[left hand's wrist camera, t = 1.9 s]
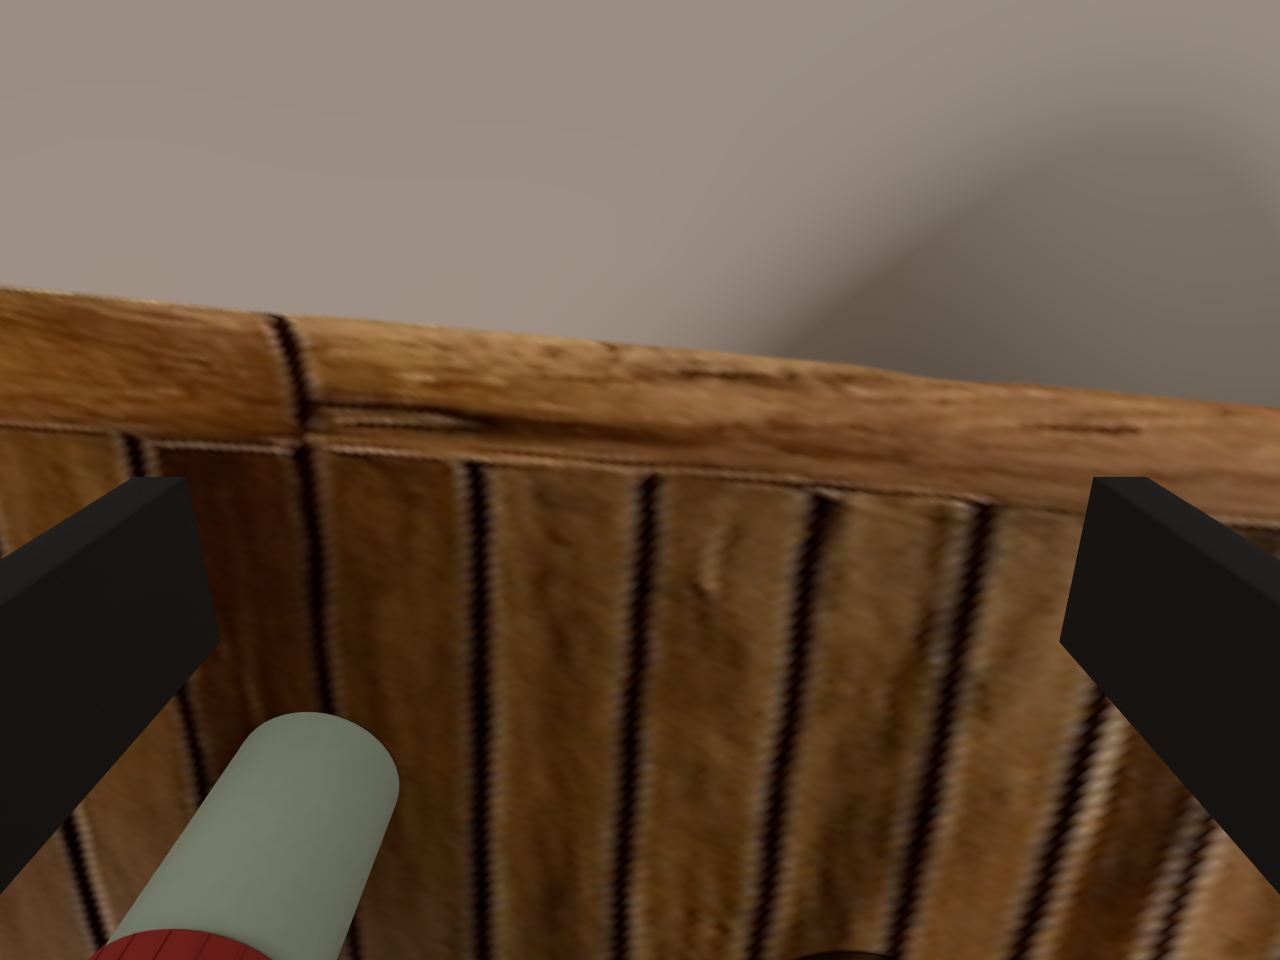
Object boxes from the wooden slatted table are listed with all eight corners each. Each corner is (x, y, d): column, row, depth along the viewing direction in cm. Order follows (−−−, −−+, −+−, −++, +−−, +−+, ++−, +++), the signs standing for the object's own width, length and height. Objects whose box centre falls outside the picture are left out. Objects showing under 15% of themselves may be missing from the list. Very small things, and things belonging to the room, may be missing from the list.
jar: (408, 728, 47) (302, 987, 32) (390, 852, 50) (285, 1141, 36) (241, 697, 46) (54, 949, 32) (233, 826, 50) (60, 1109, 35)
